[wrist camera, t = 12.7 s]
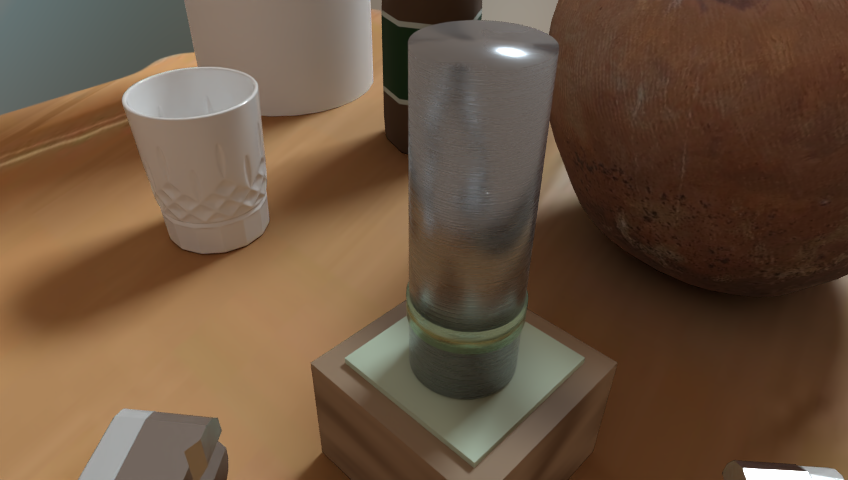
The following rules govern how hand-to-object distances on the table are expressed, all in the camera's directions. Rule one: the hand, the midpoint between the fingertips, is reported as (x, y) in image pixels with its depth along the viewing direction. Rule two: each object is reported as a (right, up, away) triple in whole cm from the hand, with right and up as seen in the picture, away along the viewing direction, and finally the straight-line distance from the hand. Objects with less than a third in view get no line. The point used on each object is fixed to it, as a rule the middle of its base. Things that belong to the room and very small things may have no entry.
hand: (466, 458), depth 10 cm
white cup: (-15, +4, +34) cm, 38 cm away
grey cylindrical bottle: (+1, -1, +16) cm, 16 cm away
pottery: (+18, +3, +34) cm, 38 cm away
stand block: (+1, -6, +20) cm, 21 cm away
